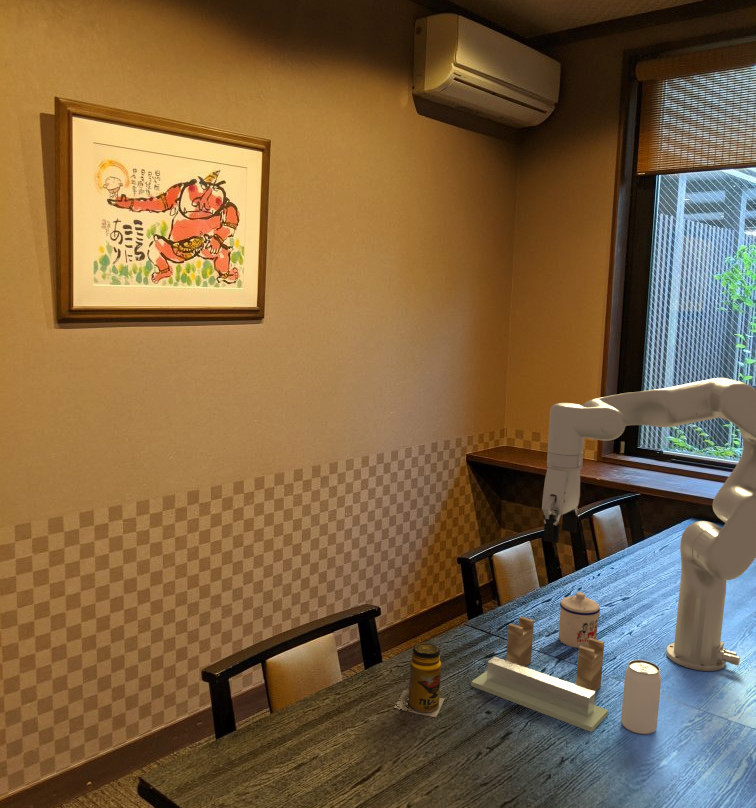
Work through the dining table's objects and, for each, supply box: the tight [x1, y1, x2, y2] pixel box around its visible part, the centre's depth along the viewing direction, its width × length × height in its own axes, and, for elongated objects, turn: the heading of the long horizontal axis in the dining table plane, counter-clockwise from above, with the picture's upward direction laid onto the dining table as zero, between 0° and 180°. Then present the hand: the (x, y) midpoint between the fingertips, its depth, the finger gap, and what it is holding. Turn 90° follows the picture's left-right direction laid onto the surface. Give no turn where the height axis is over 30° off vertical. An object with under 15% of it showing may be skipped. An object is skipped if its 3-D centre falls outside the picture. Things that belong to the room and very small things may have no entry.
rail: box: [486, 656, 596, 717], centre depth 159 cm, size 22×3×4 cm, turn 53°
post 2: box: [575, 638, 605, 692], centre depth 163 cm, size 3×6×10 cm, turn 143°
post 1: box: [505, 616, 535, 668], centre depth 173 cm, size 3×6×10 cm, turn 143°
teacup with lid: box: [558, 591, 601, 649], centre depth 187 cm, size 12×9×12 cm
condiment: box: [393, 642, 446, 718], centre depth 155 cm, size 7×8×12 cm
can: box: [620, 659, 662, 736], centre depth 150 cm, size 6×6×12 cm
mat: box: [470, 670, 609, 733], centre depth 159 cm, size 26×8×1 cm, turn 53°
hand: (560, 536), depth 175 cm, fingers open, 9 cm apart
